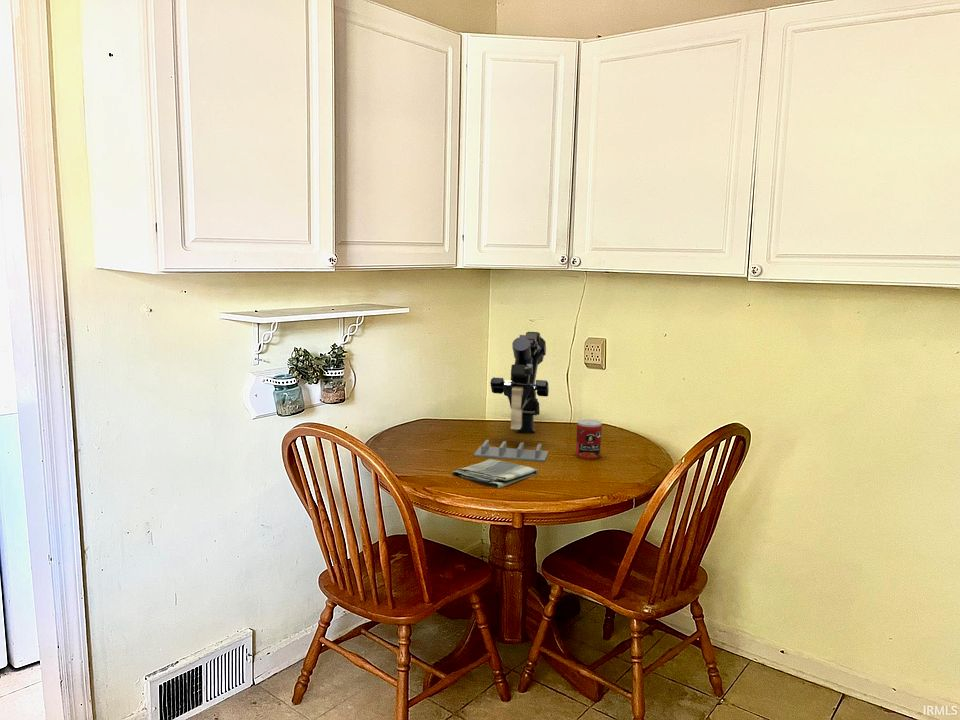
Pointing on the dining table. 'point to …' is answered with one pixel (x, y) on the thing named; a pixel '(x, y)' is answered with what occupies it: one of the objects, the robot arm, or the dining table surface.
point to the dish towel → (495, 473)
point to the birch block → (516, 408)
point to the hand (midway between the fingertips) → (516, 408)
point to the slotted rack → (511, 452)
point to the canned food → (588, 439)
